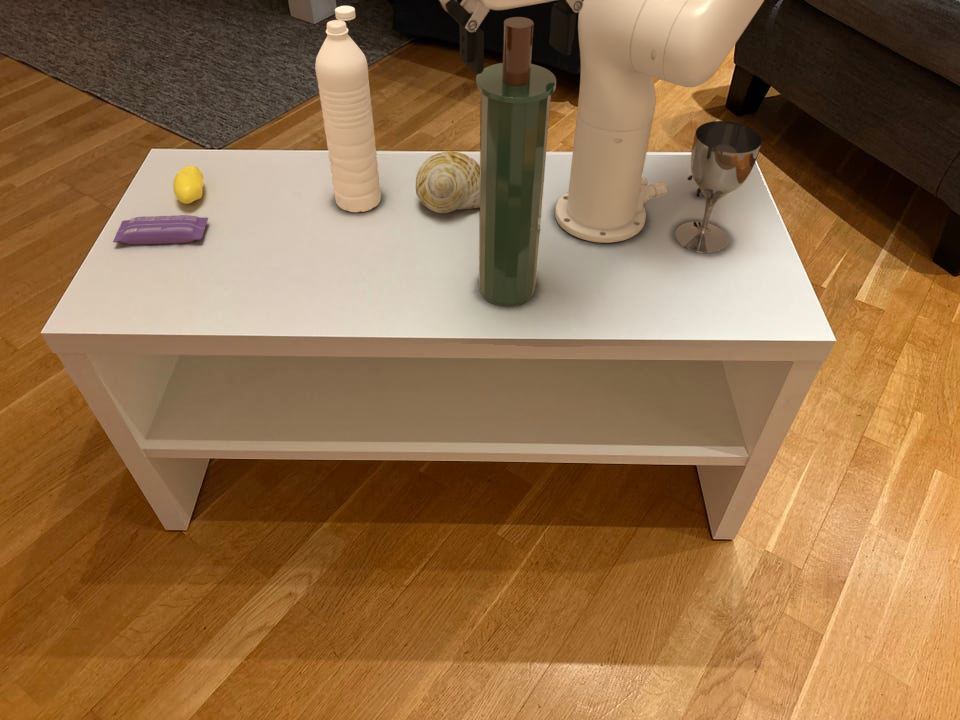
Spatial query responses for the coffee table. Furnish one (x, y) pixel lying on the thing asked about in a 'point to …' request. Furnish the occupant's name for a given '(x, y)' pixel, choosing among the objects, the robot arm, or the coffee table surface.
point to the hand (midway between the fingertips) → (517, 59)
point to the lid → (516, 68)
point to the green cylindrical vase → (511, 197)
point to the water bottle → (348, 117)
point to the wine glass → (717, 176)
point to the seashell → (449, 182)
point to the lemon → (188, 184)
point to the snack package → (161, 229)
